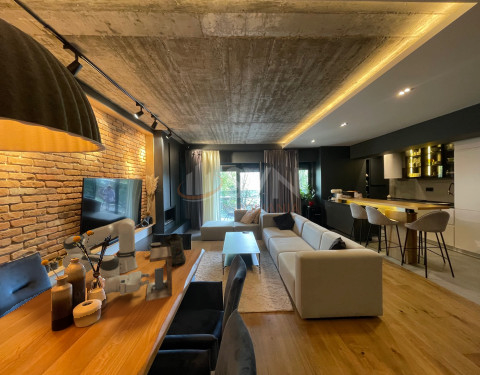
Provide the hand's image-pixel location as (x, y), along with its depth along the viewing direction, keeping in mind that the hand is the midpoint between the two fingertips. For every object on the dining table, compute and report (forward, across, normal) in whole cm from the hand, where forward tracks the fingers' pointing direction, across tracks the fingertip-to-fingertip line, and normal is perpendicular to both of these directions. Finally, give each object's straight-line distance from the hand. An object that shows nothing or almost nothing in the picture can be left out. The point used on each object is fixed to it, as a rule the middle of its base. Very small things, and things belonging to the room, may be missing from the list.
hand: (149, 278), depth 124 cm
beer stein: (+18, -41, -9) cm, 45 cm away
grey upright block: (+6, 0, -8) cm, 10 cm away
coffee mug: (+3, -73, -9) cm, 74 cm away
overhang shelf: (+6, 0, -9) cm, 10 cm away
